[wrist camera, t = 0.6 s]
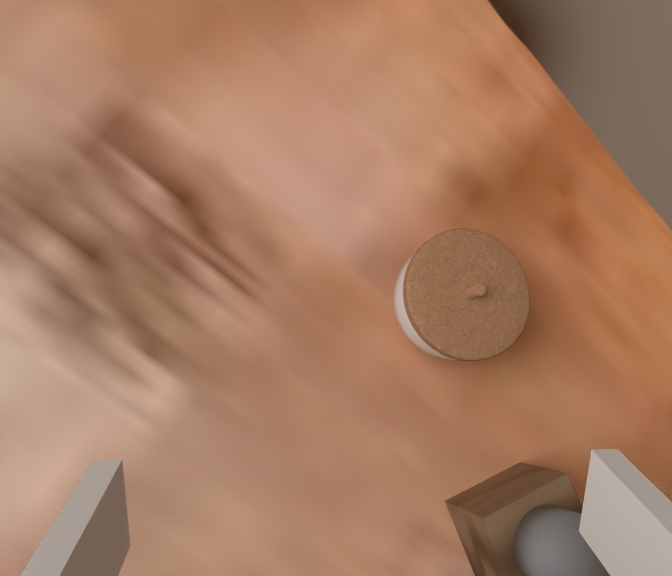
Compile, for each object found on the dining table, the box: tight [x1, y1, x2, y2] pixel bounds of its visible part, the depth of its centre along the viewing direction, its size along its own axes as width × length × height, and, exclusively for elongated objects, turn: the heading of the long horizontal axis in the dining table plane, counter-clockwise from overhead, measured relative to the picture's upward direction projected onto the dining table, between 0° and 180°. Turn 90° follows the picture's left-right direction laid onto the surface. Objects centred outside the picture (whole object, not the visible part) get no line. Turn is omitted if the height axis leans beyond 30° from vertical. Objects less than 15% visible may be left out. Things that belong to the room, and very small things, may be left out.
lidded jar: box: [393, 229, 530, 361], centre depth 47 cm, size 11×11×9 cm
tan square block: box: [445, 463, 582, 576], centre depth 46 cm, size 8×8×7 cm
